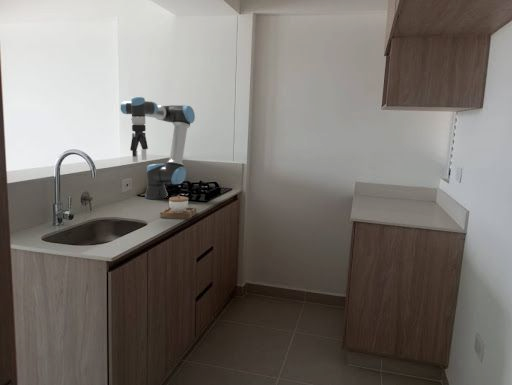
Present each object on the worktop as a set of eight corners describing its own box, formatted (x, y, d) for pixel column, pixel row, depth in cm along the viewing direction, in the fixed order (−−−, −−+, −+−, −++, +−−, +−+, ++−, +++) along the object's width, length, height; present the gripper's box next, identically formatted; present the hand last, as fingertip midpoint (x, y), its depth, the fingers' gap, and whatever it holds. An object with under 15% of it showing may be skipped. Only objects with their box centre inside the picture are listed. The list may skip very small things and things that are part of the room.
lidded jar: (173, 214, 231) (173, 197, 229) (166, 210, 240) (166, 194, 238) (191, 212, 236) (191, 196, 235) (184, 209, 245) (183, 193, 244)
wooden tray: (169, 211, 247) (169, 206, 247) (196, 212, 245) (196, 208, 245) (160, 217, 231) (160, 212, 231) (188, 219, 230) (188, 214, 229)
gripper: (140, 124, 257) (141, 159, 261) (123, 124, 233) (124, 162, 236) (152, 124, 257) (153, 159, 260) (136, 124, 232) (137, 163, 236)
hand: (139, 161), depth 248 cm, fingers open, 13 cm apart
